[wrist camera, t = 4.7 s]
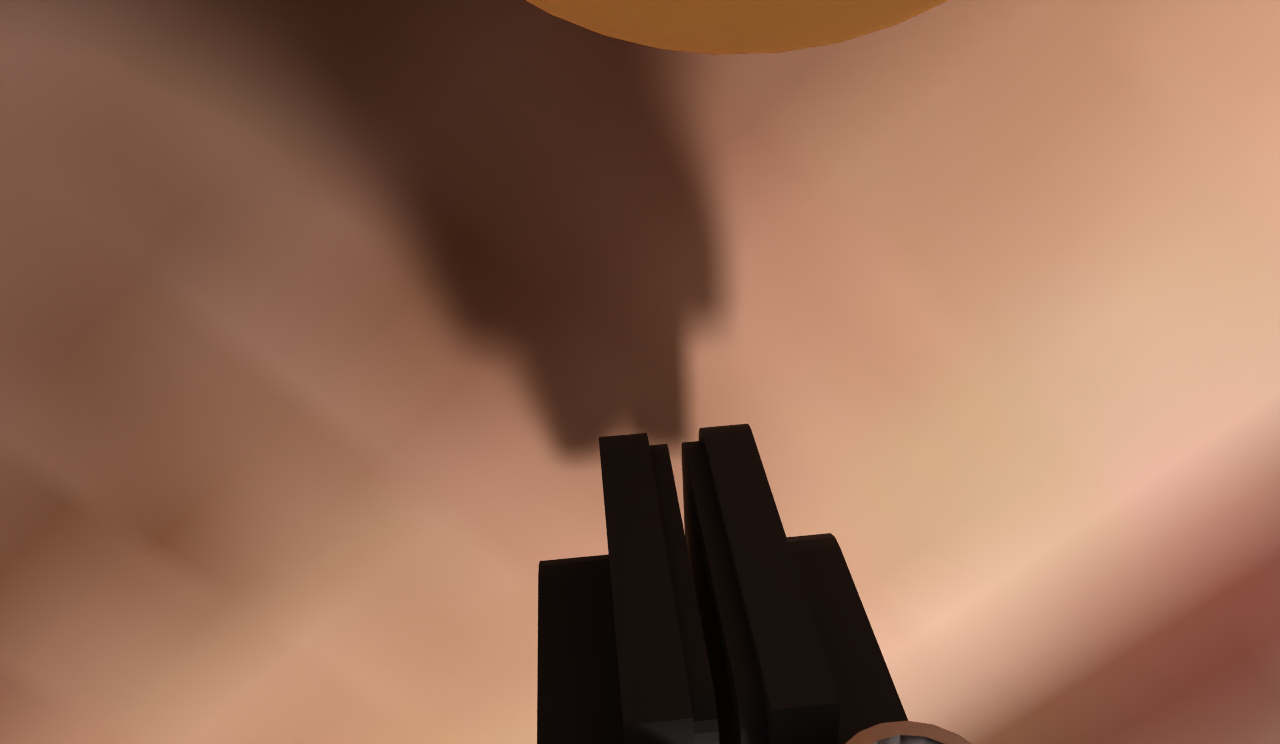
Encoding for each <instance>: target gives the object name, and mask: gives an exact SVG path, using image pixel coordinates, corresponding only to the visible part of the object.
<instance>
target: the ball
mask: <svg viewBox="0 0 1280 744" xmlns="http://www.w3.org/2000/svg"><path fill="white" fill-rule="evenodd" d="M526 1H527V2H529V3H531V4H533V5H535V6H537V7H538V8H540V9H542V10H544V11H546V12H547V13H549V14H551V15H553V16H556V17H558V18H561V19H564V20H566V21H569V22H571V23H574V24H576V25H579V26H581V27H584V28H587V29H589V30H592V31H594V32H597V33H599V34H602V35H605V36H609V37H613V38H617V39H621V40H625V41H629V42H633V43H637V44H641V45H645V46H650V47H654V48H658V49H666V50H675V51H685V52H694V53H704V54H713V55H715V54H748V53H778V52H786V51H792V50H798V49H804V48H810V47H816V46H822V45H828V44H834V43H839V42H843V41H846V40H849V39H852V38H855V37H859V36H862V35H865V34H868V33H872V32H875V31H878V30H881V29H884V28H888V27H891V26H894V25H897V24H899V23H901V22H903V21H905V20H907V19H909V18H912V17H914V16H916V15H918V14H920V13H922V12H924V11H927V10H929V9H931V8H933V7H935V6H937V5H939V4H942V3H944V2H946V1H948V0H526Z"/></svg>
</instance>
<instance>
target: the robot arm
mask: <svg viewBox="0 0 1280 744" xmlns="http://www.w3.org/2000/svg"><path fill="white" fill-rule="evenodd" d="M599 445H600V457H601V469H602V480H603V492H604V504H605V516H606V528H607V539H608V551H609V555H599V556H589V557H578V558H568V559H557V560H547V561H540V563H539V575H538V700H537V744H971V743H970V742H968V741H967V740H966V739H964V738H963V737H961V736H960V735H958V734H955V733H953V732H950V731H948V730H945V729H943V728H940V727H938V726H935V725H932V724H925V723H919V722H912V721H908V719H907V716H906V714H905V711H904V709H903V706H902V704H901V701H900V699H899V696H898V694H897V691H896V689H895V686H894V683H893V681H892V678H891V676H890V673H889V671H888V668H887V666H886V663H885V661H884V658H883V655H882V653H881V650H880V648H879V645H878V643H877V640H876V638H875V635H874V633H873V630H872V628H871V625H870V622H869V620H868V617H867V615H866V612H865V610H864V607H863V605H862V602H861V600H860V597H859V594H858V592H857V589H856V587H855V584H854V582H853V579H852V577H851V574H850V572H849V569H848V567H847V564H846V561H845V559H844V556H843V554H842V551H841V549H840V546H839V544H838V542H837V540H836V538H835V537H834V536H833V535H832V534H831V533H828V534H818V535H807V536H797V537H786V535H785V532H784V529H783V526H782V522H781V519H780V516H779V513H778V510H777V507H776V504H775V501H774V498H773V495H772V492H771V489H770V486H769V483H768V480H767V477H766V473H765V470H764V467H763V464H762V461H761V458H760V455H759V452H758V449H757V446H756V443H755V440H754V437H753V434H752V431H751V428H750V426H749V425H748V424H740V425H729V426H718V427H707V428H700V430H699V441H695V442H684V443H682V473H683V498H684V522H685V534H684V529H683V523H682V518H681V513H680V508H679V502H678V497H677V492H676V487H675V481H674V476H673V471H672V465H671V460H670V455H669V450H668V445H667V444H662V445H651V446H649V441H648V436H647V433H641V434H630V435H619V436H608V437H599Z"/></svg>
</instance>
